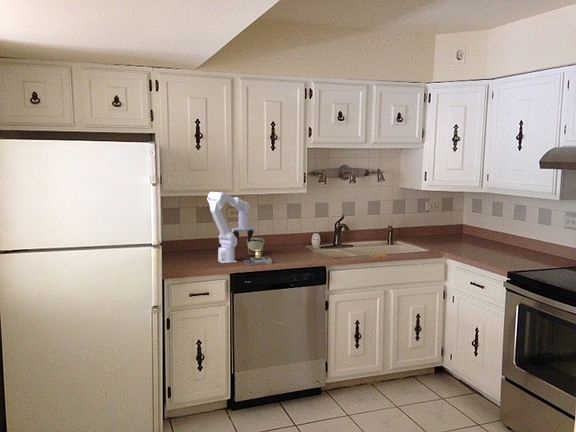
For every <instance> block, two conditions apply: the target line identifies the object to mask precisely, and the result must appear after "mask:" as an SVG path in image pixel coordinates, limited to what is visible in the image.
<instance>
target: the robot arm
mask: <svg viewBox="0 0 576 432" xmlns="http://www.w3.org/2000/svg"><path fill="white" fill-rule="evenodd" d="M206 200H207V203H208V204H209V209H210V213H211V216H212V218H213V220H214V222H215V225H216V227H217V230H218V231H219V235H218V240H219V241H218V242H219V244H220V245H221V247H218V250H217V253H218V254H217V256H218V257H217V261H218V262H219V263H221V264H229V263H230V264H231V263H237V260H236V259H235V248H236V246H237V245H238V244H239V243H240V240H239V239H240V237H239V236H240V232H247V239H248V242H250V240H251V238H253V234H254V231H255V229H256V227H255V226H249V212H250V209H251V206H250V203H249V202H248V201H244V200H243V199H240V198H239V197H238V196H236V197H232V196H230V195H229V194H227V193H226V192H223V191H222V192H217V191H210V192H209V193H208V194H207V198H206ZM226 202H227V203H230V205H231V207H233V208H235V209H236V210H237V211H238V227H233V228H232V227H231V231H230V229H229V227H228V225H227V221H226V219H225V217H224V215H223V213H222V209H223V208H224V206H225V204H226Z"/></svg>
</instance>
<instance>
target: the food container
mask: <svg viewBox="0 0 576 432" xmlns="http://www.w3.org/2000/svg"><path fill="white" fill-rule="evenodd" d="M246 242H247V252H248V255H254V254H255V251H254V249H261V251H260V256H263V254H264V253H263V252H264V244H265V243H266V242H265V239H264V238H262V237H251V240H250V242H248V238H247V239H246Z"/></svg>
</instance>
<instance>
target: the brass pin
mask: <svg viewBox="0 0 576 432" xmlns="http://www.w3.org/2000/svg"><path fill="white" fill-rule="evenodd" d="M254 251H255V256H254V258H255V260H260V257H261V255H260V251H261V249H254Z"/></svg>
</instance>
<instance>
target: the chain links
mask: <svg viewBox="0 0 576 432" xmlns="http://www.w3.org/2000/svg"><path fill="white" fill-rule="evenodd" d="M272 263H273V259H272V258H270V257H269V256H260V260H255V257H249V259H246V260H245V259H243V264H246V265H247V266H256V265H267V264H272Z"/></svg>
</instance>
